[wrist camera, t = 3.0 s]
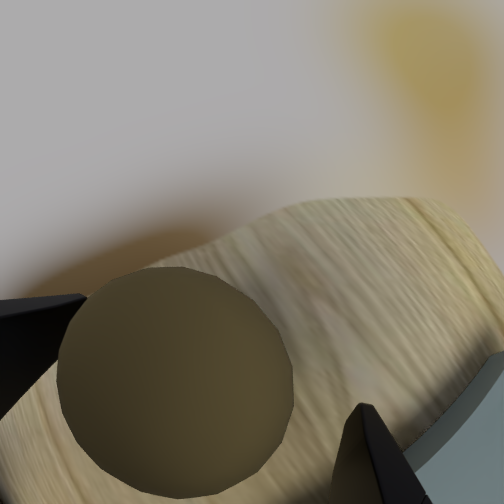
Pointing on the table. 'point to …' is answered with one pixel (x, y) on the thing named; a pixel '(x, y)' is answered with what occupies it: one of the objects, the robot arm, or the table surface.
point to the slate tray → (466, 444)
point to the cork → (175, 382)
